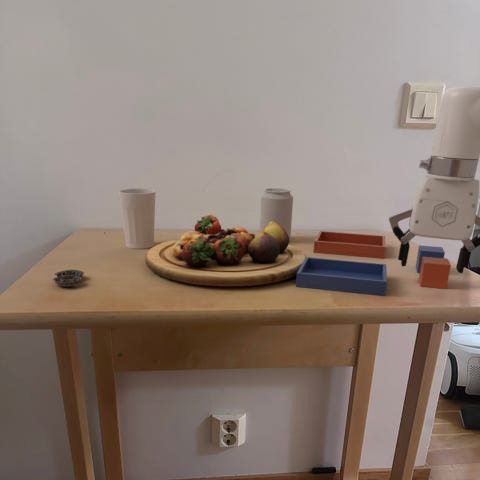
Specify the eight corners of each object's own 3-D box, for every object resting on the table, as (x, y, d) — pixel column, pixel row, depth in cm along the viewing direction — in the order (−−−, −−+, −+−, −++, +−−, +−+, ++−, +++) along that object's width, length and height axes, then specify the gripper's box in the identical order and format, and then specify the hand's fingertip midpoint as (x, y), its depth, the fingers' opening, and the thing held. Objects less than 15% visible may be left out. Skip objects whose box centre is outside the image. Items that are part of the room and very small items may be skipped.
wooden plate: (152, 245, 111) (150, 208, 108) (290, 244, 114) (292, 208, 110) (136, 290, 82) (133, 242, 78) (323, 288, 84) (327, 241, 81)
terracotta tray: (383, 246, 114) (385, 235, 113) (384, 258, 104) (385, 247, 103) (319, 241, 118) (319, 230, 117) (313, 252, 108) (314, 241, 107)
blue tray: (384, 276, 92) (386, 264, 91) (384, 295, 82) (387, 281, 81) (304, 269, 96) (305, 256, 95) (295, 286, 86) (296, 273, 85)
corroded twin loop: (51, 289, 81) (50, 283, 81) (57, 275, 88) (56, 269, 88) (82, 287, 82) (81, 281, 82) (85, 273, 89) (85, 268, 89)
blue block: (438, 268, 98) (442, 247, 96) (440, 274, 94) (444, 252, 93) (415, 266, 99) (419, 245, 97) (416, 272, 95) (420, 250, 94)
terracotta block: (443, 281, 90) (447, 258, 88) (446, 289, 86) (451, 265, 84) (418, 279, 91) (422, 256, 89) (420, 286, 87) (424, 262, 86)
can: (271, 244, 113) (274, 192, 109) (253, 238, 119) (255, 188, 114) (296, 241, 117) (300, 190, 112) (277, 235, 123) (280, 186, 118)
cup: (119, 249, 106) (115, 193, 101) (124, 241, 113) (120, 188, 109) (156, 249, 107) (154, 194, 102) (158, 241, 114) (156, 188, 110)
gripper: (398, 167, 79) (381, 267, 86) (513, 175, 76) (486, 280, 82) (397, 163, 86) (381, 257, 93) (502, 171, 82) (478, 268, 89)
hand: (430, 267), depth 88 cm, fingers open, 9 cm apart
